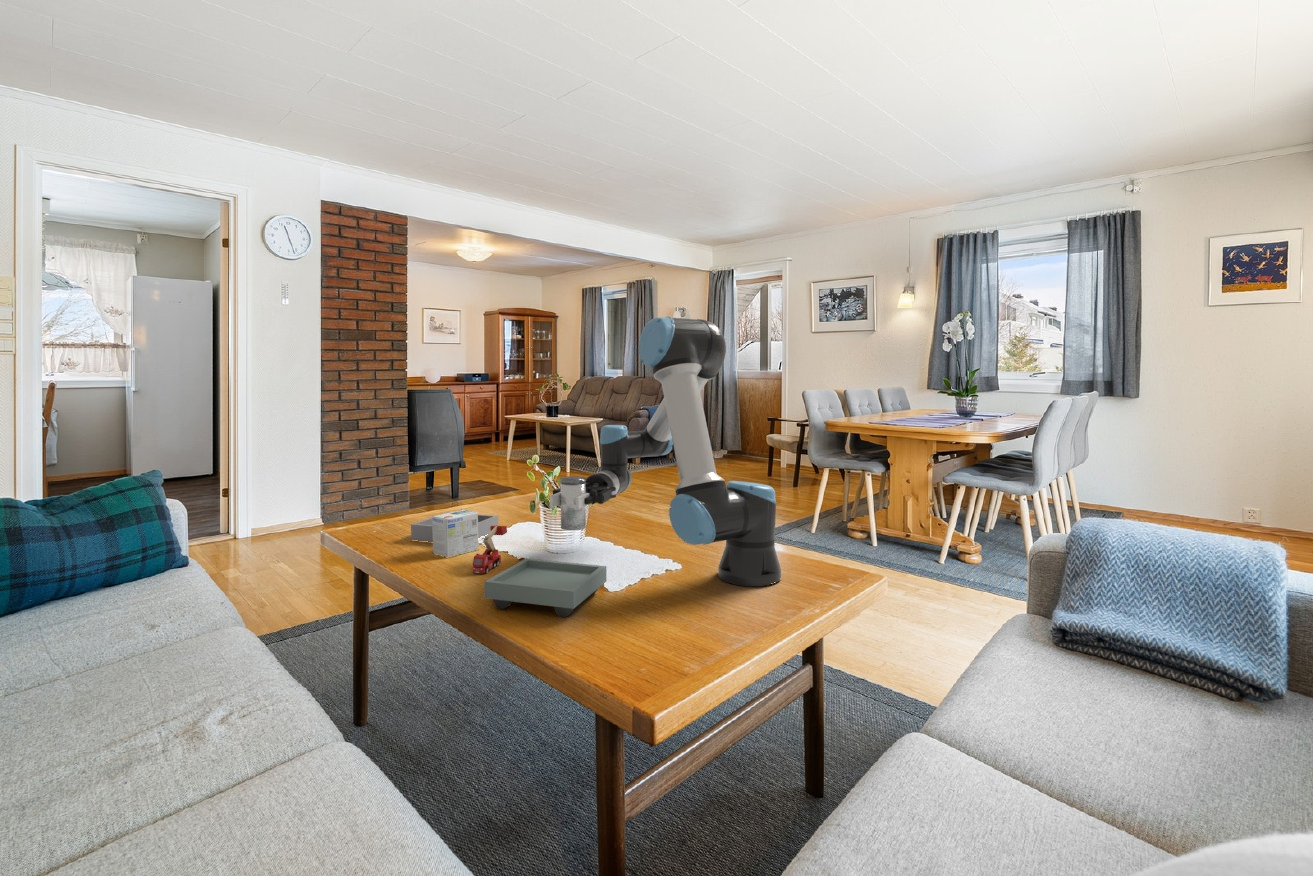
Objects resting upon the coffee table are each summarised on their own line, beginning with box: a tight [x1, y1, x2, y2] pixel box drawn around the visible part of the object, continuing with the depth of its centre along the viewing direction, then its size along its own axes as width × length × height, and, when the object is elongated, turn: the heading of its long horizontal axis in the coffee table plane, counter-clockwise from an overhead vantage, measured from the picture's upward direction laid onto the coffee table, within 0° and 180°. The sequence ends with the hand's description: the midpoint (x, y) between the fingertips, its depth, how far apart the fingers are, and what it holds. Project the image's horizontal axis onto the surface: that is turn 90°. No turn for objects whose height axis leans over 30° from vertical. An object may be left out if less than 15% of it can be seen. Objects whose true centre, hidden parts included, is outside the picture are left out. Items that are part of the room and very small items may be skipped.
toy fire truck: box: [472, 525, 508, 574], centre depth 164 cm, size 3×14×10 cm, turn 169°
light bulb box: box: [431, 509, 479, 558], centre depth 178 cm, size 11×7×11 cm, turn 144°
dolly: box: [483, 558, 607, 618], centre depth 140 cm, size 20×18×6 cm
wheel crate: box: [410, 511, 499, 542], centre depth 195 cm, size 18×18×5 cm
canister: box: [559, 475, 587, 531], centre depth 156 cm, size 6×6×12 cm
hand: (564, 502), depth 152 cm, fingers closed on canister, 6 cm apart
